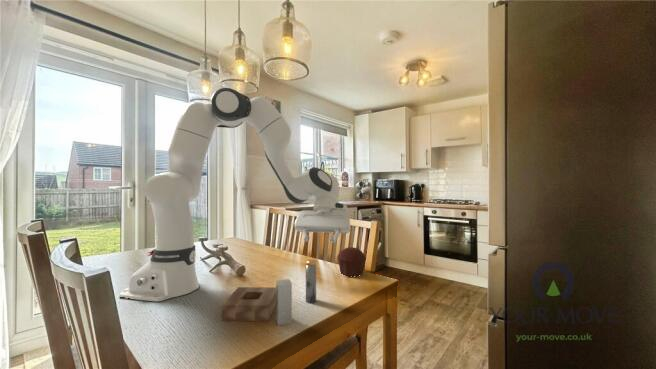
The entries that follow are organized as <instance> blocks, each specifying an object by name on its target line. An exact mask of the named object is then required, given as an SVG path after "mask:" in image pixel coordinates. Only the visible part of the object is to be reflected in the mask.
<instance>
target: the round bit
mask: <svg viewBox="0 0 656 369" xmlns="http://www.w3.org/2000/svg"><path fill="white" fill-rule="evenodd" d="M316 302H317V260H316V259H307V260H305V303H307V304H315V303H316Z"/></svg>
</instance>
